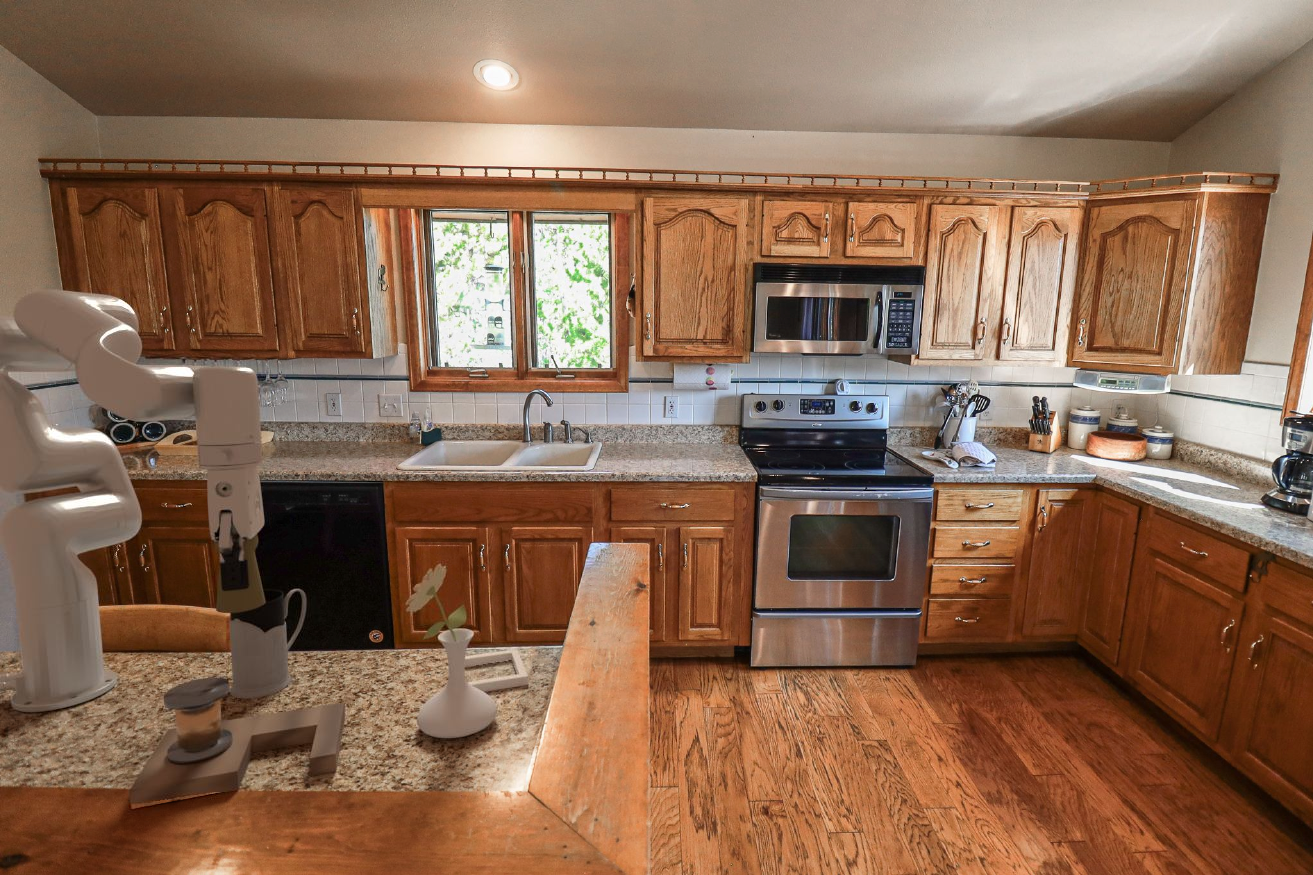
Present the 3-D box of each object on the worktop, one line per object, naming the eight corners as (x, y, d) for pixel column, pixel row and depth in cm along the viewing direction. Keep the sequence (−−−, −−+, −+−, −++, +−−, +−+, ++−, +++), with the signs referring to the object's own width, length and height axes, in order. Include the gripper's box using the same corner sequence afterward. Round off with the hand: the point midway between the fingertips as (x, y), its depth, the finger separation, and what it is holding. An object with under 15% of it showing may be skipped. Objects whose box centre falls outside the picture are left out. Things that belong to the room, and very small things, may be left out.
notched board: (130, 809, 78) (129, 790, 78) (169, 746, 91) (168, 729, 91) (336, 771, 86) (335, 753, 86) (344, 718, 99) (344, 702, 99)
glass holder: (216, 693, 106) (211, 603, 104) (287, 657, 120) (283, 576, 118) (260, 701, 104) (255, 609, 102) (328, 663, 117) (324, 581, 116)
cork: (242, 614, 91) (236, 535, 89) (204, 611, 92) (199, 533, 91) (275, 599, 96) (270, 525, 95) (240, 596, 98) (235, 523, 97)
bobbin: (159, 769, 82) (155, 707, 81) (177, 739, 89) (173, 682, 88) (225, 758, 85) (221, 698, 84) (238, 730, 91) (234, 674, 90)
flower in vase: (464, 698, 106) (461, 545, 103) (513, 720, 99) (511, 557, 97) (390, 734, 95) (384, 564, 92) (440, 762, 89) (435, 580, 86)
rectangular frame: (458, 695, 106) (457, 686, 106) (453, 666, 117) (452, 658, 117) (528, 684, 110) (528, 676, 110) (517, 656, 121) (517, 649, 121)
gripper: (249, 462, 85) (258, 599, 87) (272, 448, 101) (280, 565, 103) (179, 465, 83) (190, 607, 85) (215, 450, 98) (224, 570, 100)
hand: (239, 582), depth 94 cm, fingers closed on cork, 4 cm apart
